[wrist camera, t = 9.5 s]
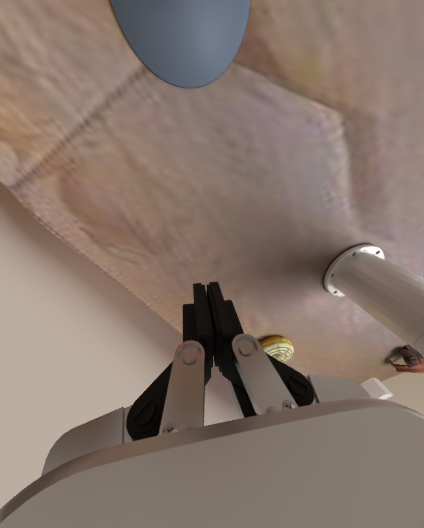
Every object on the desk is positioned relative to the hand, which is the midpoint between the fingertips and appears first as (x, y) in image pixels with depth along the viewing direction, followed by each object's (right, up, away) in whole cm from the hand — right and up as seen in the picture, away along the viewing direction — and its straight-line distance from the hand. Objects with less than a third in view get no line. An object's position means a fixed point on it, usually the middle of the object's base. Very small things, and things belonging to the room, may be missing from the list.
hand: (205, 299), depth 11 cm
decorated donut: (+17, -20, +35) cm, 44 cm away
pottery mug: (+69, -30, +50) cm, 91 cm away
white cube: (+68, -48, +61) cm, 103 cm away
